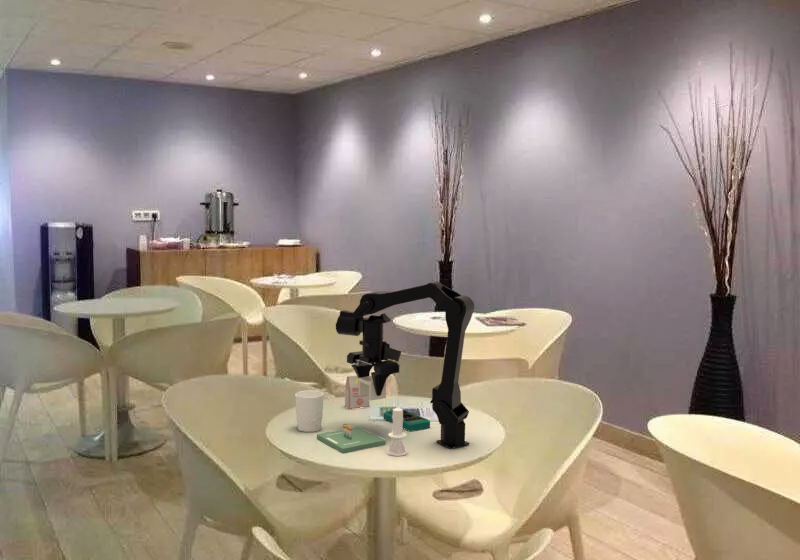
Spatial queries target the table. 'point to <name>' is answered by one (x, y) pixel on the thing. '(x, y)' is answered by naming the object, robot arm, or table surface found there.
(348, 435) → the pins
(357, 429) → the header board
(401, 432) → the candle
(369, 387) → the block
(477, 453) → the table surface
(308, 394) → the white cup
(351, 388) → the tea bag
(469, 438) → the table surface
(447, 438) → the robot arm
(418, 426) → the digital multimeter
